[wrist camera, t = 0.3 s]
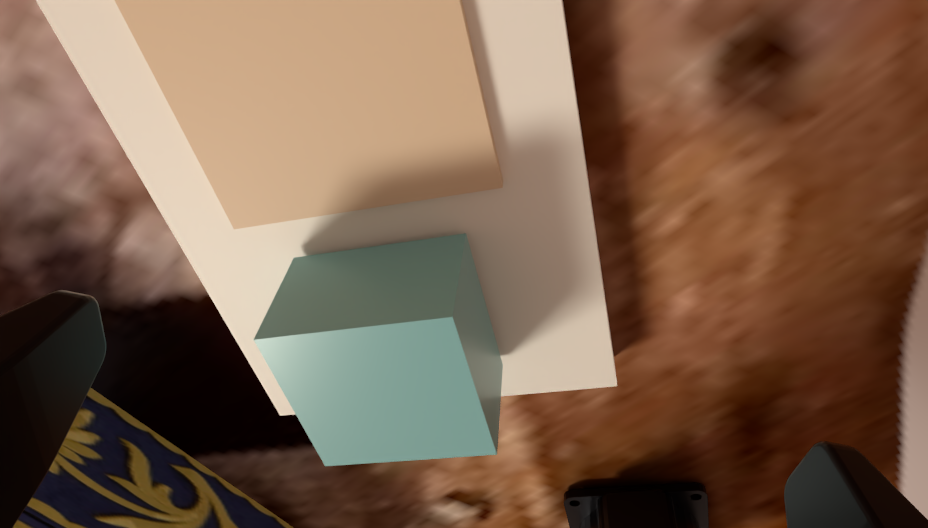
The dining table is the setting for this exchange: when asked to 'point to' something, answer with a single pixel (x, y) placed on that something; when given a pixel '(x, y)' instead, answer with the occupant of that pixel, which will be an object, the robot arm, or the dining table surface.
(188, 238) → the board
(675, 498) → the robot arm
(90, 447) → the decorative box
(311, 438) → the mint green cube
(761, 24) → the dining table surface
